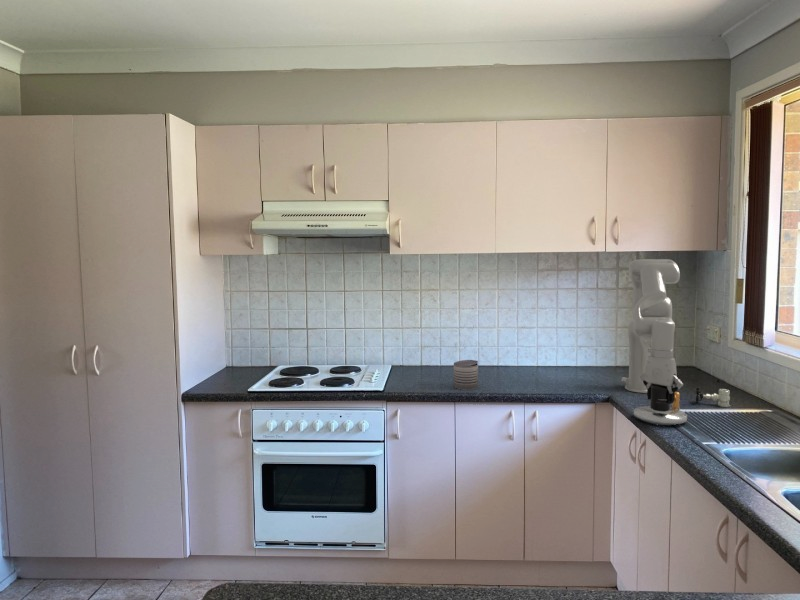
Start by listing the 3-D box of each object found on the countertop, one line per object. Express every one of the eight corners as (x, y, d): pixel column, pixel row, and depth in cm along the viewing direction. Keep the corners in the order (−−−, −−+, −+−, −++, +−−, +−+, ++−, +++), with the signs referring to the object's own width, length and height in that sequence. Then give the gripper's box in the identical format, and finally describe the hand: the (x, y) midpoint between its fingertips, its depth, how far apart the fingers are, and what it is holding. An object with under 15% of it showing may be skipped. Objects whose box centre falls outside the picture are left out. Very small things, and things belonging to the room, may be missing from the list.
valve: (729, 404, 228) (695, 401, 234) (729, 388, 227) (696, 385, 233) (729, 408, 222) (695, 405, 228) (730, 392, 221) (696, 389, 227)
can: (479, 390, 256) (479, 364, 255) (454, 390, 256) (454, 364, 255) (477, 384, 267) (477, 359, 266) (453, 384, 268) (453, 359, 266)
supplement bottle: (660, 412, 204) (661, 380, 203) (645, 408, 211) (646, 376, 209) (674, 410, 207) (675, 378, 206) (659, 405, 213) (660, 374, 212)
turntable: (671, 427, 196) (672, 407, 196) (624, 415, 211) (624, 397, 210) (701, 415, 209) (701, 397, 209) (654, 405, 224) (655, 387, 223)
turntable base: (668, 428, 199) (668, 425, 199) (632, 419, 210) (632, 416, 210) (688, 420, 208) (688, 418, 208) (651, 412, 219) (651, 409, 219)
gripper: (634, 351, 211) (633, 397, 213) (680, 358, 198) (678, 408, 199) (644, 349, 216) (643, 394, 218) (690, 355, 202) (688, 404, 204)
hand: (660, 400), depth 208 cm, fingers closed on supplement bottle, 6 cm apart
